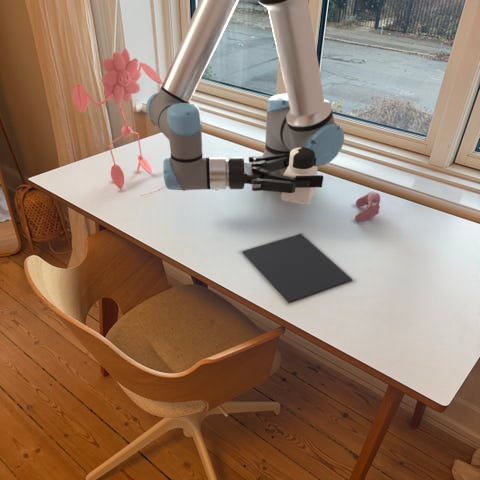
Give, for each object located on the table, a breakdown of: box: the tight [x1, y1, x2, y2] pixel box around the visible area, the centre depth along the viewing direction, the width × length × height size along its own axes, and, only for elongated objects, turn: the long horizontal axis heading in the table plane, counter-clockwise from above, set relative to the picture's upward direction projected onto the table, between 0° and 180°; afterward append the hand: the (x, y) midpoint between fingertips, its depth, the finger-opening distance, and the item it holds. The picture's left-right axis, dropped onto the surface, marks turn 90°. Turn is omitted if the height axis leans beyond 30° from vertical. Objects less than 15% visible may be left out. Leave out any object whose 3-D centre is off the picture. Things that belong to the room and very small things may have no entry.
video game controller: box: [354, 191, 381, 223], centre depth 126 cm, size 10×5×7 cm, turn 168°
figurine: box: [71, 48, 166, 197], centre depth 126 cm, size 15×26×35 cm, turn 138°
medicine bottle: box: [280, 147, 319, 206], centre depth 115 cm, size 7×7×12 cm
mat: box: [242, 233, 353, 304], centre depth 110 cm, size 17×21×1 cm
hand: (318, 171), depth 115 cm, fingers closed on medicine bottle, 9 cm apart
